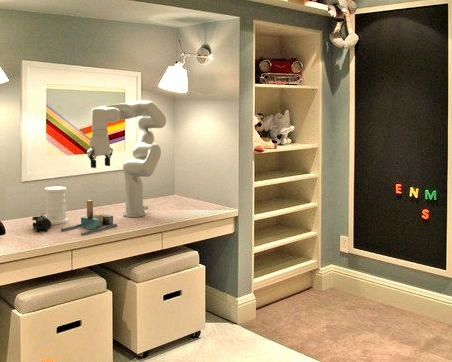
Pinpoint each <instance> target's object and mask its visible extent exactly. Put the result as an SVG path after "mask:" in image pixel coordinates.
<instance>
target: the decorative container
mask: <svg viewBox="0 0 452 362" xmlns="http://www.w3.org/2000/svg"><path fill="white" fill-rule="evenodd" d="M66 191H67V187H66V186H59V185H58V186H48V187H44V192H45V199H46V200H45V204H46V206H45V209H46V214H45V216H46V217H47V218H48V219H49V220H50V222H51V225H61V224H62V225H63V224H67V223H68V222H69V219H68V217H67V206H66V203H67V200H66V196H67V195H66Z"/></svg>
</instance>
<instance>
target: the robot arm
mask: <svg viewBox="0 0 452 362" xmlns="http://www.w3.org/2000/svg"><path fill="white" fill-rule="evenodd" d="M133 118H137V124H138V129H139V136H138V139H137V141H136V142H135V143H136V144H135V145H134V148H133V149H132V156H133V157H134V158H127V159H126V160H125V161H124V162H123V164H122V165H123V166H122V169H123V174H124V181H125V184H124V185H125V186H124V187H125V191H124V193H125V211H124V212H122V213H123V214H122V215H123V216H124V217H126V218H140V217H145V216H146V215H147V213H146V211H145V210H148V209H149V206H148V205H144V184H143V180H142V178H149V177H151V176H153V174H154V173H155V169H156V167H157V166H158V164H159V160H160V158H161V153H162V150H161V149H162V148H161V146H160V145H159V144H157V143H154V141H155V135H154V133H153V131H152V129H163V128H164V127H165V126H166V123H167V118H166V115H165V114H164V112H163V111H162V109H160V107H158V105H157V104H156V103H155V102H153V101H152V100H136V101H135V100H134V101H131V102H124V103H118V104H110V105H109V104H108V105H102V106H98V107H94V108H92V109H91V136H90V139H89V148H88V150H87V151H86V154H87V157H88V158H89V161H90V168H92V169H97V157H100V156H104V166H105V167H110V166H111V158H112V155H113V153H114V148H112V147H111V146H110V138H109V135H108V133H109V130H108V123H116V122H118V121H120V120H129V119H133Z"/></svg>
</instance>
